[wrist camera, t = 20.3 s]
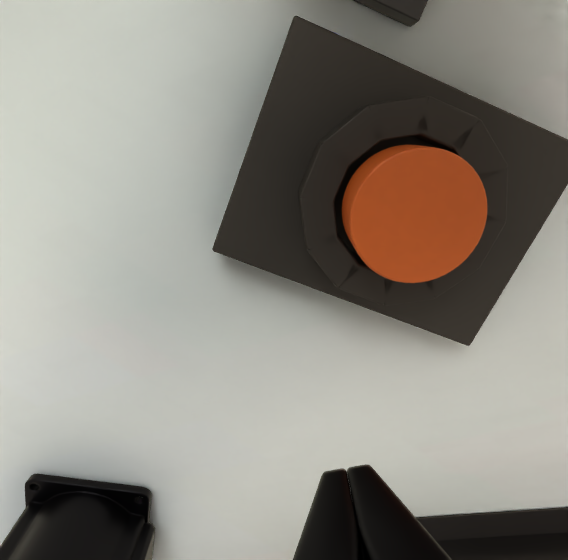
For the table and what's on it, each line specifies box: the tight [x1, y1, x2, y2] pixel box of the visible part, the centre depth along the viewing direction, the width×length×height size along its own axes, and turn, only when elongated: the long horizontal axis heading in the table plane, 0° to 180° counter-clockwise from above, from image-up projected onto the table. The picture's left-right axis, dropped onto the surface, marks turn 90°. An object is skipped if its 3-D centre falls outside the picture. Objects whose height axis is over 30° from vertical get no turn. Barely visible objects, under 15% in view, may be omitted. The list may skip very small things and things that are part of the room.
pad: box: [212, 16, 568, 346], centre depth 17 cm, size 12×9×3 cm
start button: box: [342, 144, 487, 283], centre depth 15 cm, size 4×4×2 cm
